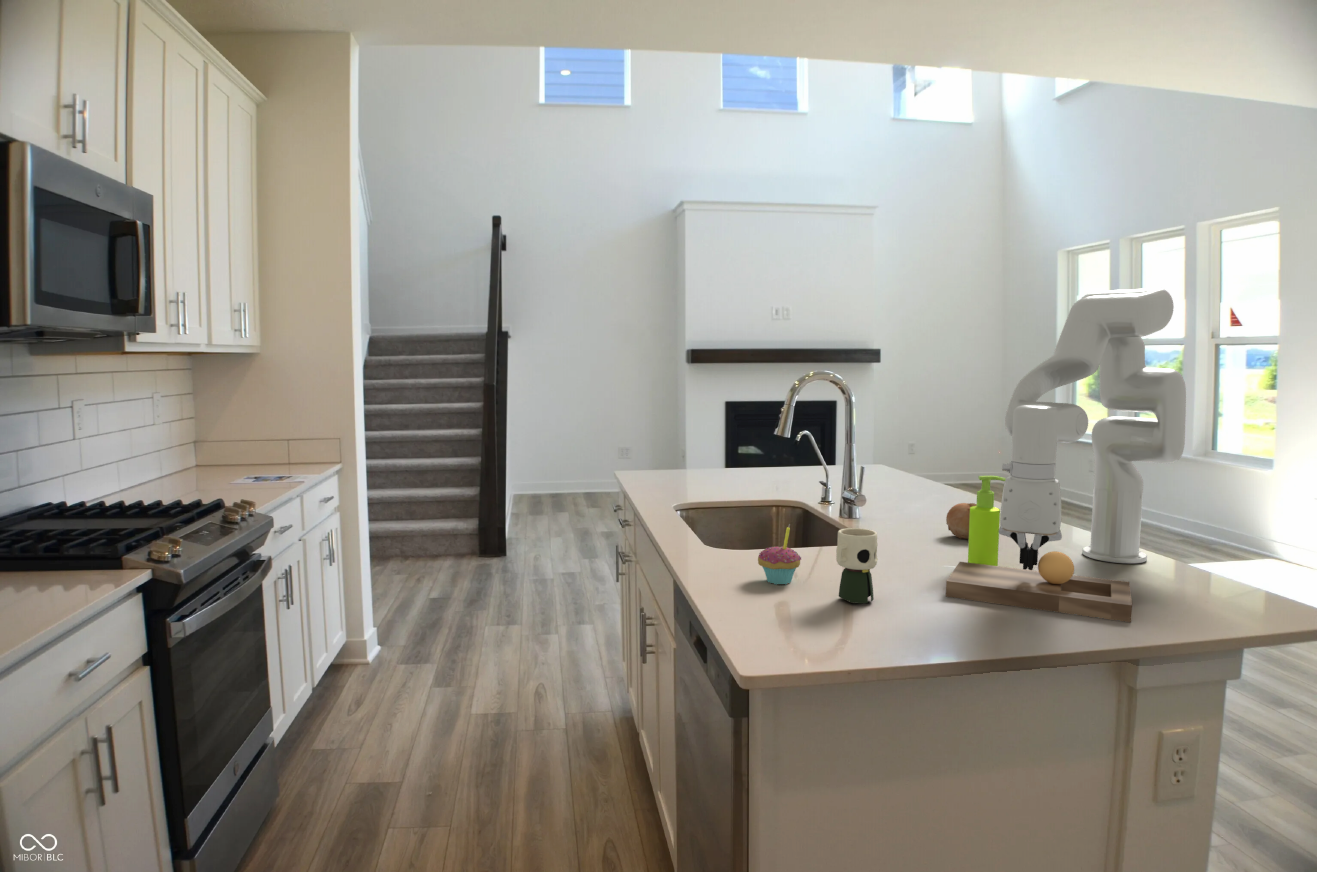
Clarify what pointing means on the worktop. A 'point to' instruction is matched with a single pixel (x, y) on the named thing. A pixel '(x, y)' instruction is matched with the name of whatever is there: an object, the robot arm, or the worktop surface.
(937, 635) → the worktop surface
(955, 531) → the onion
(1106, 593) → the board
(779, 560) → the cupcake
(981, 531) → the soap dispenser
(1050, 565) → the ball
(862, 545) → the character mug
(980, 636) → the worktop surface
